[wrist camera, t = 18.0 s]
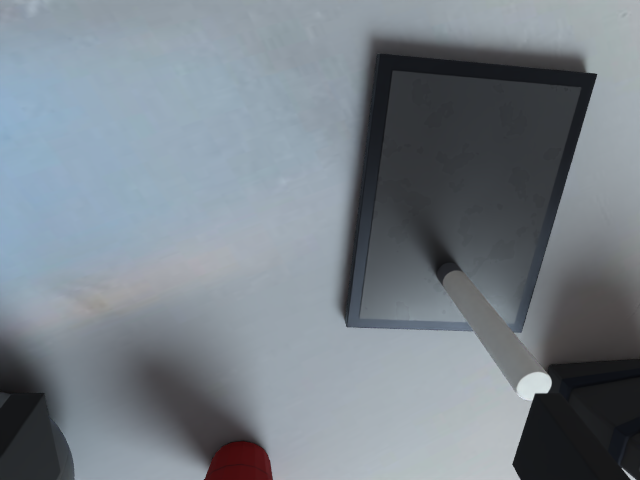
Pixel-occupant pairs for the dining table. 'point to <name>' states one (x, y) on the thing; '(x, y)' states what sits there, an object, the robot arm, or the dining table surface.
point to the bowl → (61, 446)
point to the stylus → (495, 334)
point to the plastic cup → (240, 463)
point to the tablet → (459, 186)
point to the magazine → (605, 404)
